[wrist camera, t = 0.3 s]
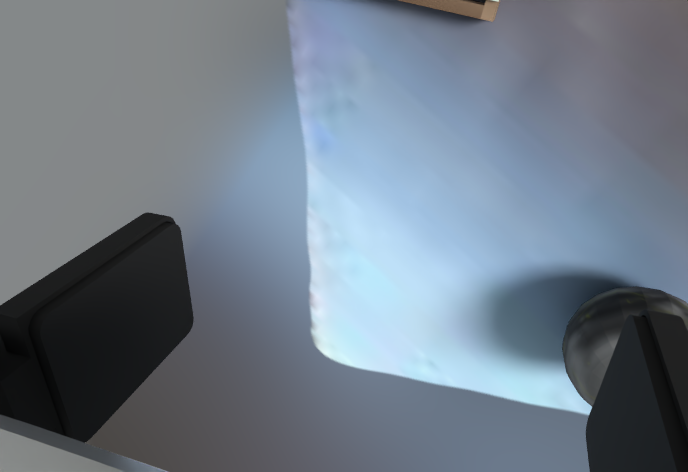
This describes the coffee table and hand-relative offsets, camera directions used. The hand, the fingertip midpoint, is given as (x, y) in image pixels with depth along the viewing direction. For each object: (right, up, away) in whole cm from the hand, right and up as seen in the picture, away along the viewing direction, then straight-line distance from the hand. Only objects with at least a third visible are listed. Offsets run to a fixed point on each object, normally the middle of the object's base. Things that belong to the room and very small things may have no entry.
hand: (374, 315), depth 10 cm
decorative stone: (+22, -5, +30) cm, 38 cm away
